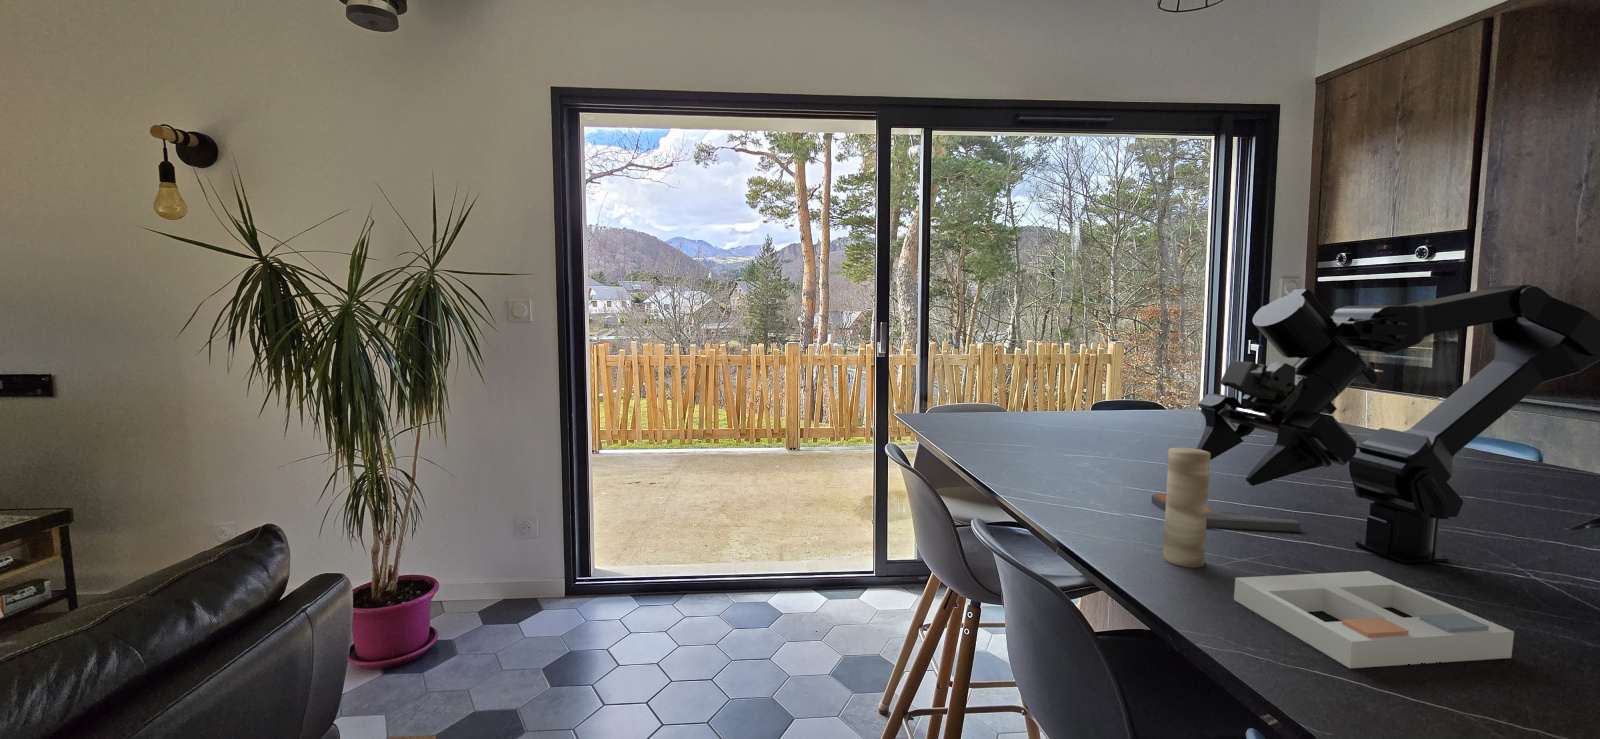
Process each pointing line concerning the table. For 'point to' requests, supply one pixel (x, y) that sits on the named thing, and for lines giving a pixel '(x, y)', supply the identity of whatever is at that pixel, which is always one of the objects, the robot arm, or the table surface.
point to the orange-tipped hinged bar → (1238, 519)
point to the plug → (1186, 506)
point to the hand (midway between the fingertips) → (1220, 472)
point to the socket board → (1372, 619)
